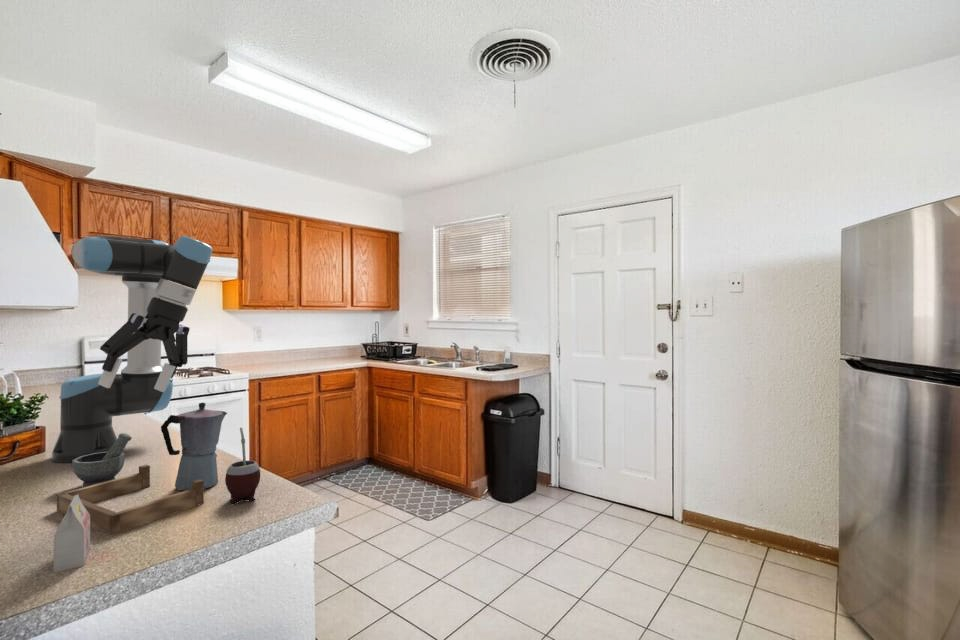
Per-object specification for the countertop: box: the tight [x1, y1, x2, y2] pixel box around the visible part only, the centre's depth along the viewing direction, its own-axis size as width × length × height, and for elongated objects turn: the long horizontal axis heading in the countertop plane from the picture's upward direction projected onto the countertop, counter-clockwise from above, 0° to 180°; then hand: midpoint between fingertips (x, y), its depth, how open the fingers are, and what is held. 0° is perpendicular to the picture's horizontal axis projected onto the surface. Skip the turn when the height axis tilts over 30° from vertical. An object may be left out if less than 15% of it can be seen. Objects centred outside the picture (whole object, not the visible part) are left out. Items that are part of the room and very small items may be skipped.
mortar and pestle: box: [71, 432, 132, 488], centre depth 114 cm, size 11×9×12 cm
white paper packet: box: [53, 494, 91, 573], centre depth 79 cm, size 4×7×10 cm, turn 33°
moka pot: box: [160, 402, 228, 491], centre depth 113 cm, size 10×15×20 cm, turn 155°
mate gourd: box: [224, 427, 261, 505], centre depth 106 cm, size 8×8×15 cm
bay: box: [56, 464, 205, 536], centre depth 101 cm, size 17×23×5 cm
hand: (133, 388), depth 107 cm, fingers open, 13 cm apart
